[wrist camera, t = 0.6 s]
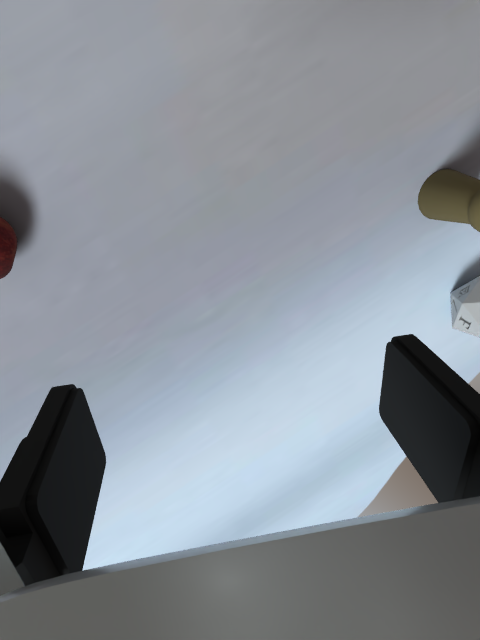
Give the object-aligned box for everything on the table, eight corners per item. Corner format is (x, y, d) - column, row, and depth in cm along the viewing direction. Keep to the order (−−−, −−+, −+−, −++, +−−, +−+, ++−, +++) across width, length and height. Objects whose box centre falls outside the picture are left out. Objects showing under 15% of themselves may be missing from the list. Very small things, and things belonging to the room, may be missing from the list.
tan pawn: (437, 229, 49) (501, 253, 39) (408, 200, 46) (468, 218, 37) (473, 189, 47) (550, 204, 37) (445, 157, 45) (518, 165, 35)
